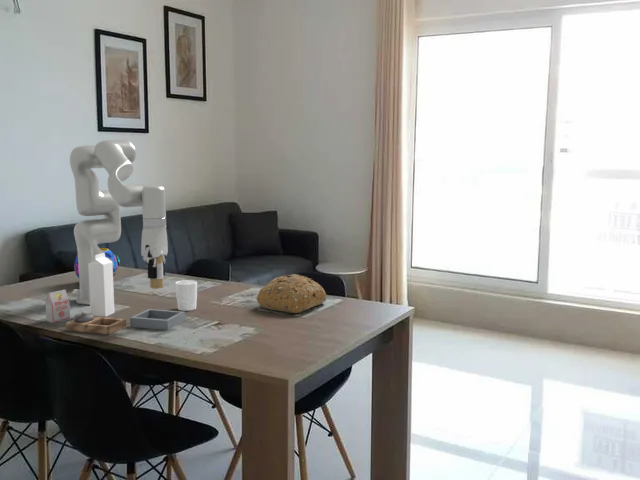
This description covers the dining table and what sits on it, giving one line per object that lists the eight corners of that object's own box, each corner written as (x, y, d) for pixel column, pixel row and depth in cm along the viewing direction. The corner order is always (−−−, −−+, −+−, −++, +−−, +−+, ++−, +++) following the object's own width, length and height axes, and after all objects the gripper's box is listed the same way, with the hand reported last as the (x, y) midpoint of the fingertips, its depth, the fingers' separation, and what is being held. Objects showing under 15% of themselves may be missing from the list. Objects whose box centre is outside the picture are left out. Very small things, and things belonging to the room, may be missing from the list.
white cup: (192, 311, 238) (192, 285, 237) (172, 310, 240) (171, 284, 239) (201, 306, 246) (200, 280, 245) (181, 305, 248) (180, 279, 246)
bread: (298, 317, 232) (298, 284, 230) (250, 309, 243) (250, 277, 241) (334, 303, 252) (334, 272, 250) (288, 296, 263) (288, 267, 262)
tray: (130, 326, 219) (130, 317, 219) (149, 317, 231) (148, 308, 230) (167, 330, 215) (167, 320, 215) (185, 320, 227) (184, 311, 226)
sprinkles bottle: (147, 287, 221) (145, 248, 219) (158, 285, 224) (157, 246, 222) (155, 289, 218) (154, 249, 216) (166, 287, 221) (165, 248, 219)
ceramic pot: (110, 288, 275) (109, 253, 273) (68, 288, 276) (66, 253, 273) (123, 279, 293) (122, 246, 290) (84, 279, 293) (82, 246, 291)
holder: (66, 330, 215) (65, 315, 214) (84, 322, 224) (83, 308, 223) (110, 334, 210) (109, 319, 210) (126, 326, 219) (125, 311, 219)
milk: (90, 316, 232) (86, 254, 229) (100, 311, 238) (96, 252, 235) (106, 317, 231) (102, 255, 228) (115, 312, 237) (112, 252, 233)
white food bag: (46, 320, 226) (44, 292, 225) (63, 316, 232) (62, 288, 230) (52, 322, 224) (51, 293, 223) (70, 318, 230) (68, 290, 228)
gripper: (157, 219, 227) (159, 271, 230) (130, 225, 211) (133, 281, 214) (177, 220, 225) (178, 272, 228) (151, 226, 209) (153, 282, 212)
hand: (156, 276), depth 221 cm, fingers closed on sprinkles bottle, 4 cm apart
